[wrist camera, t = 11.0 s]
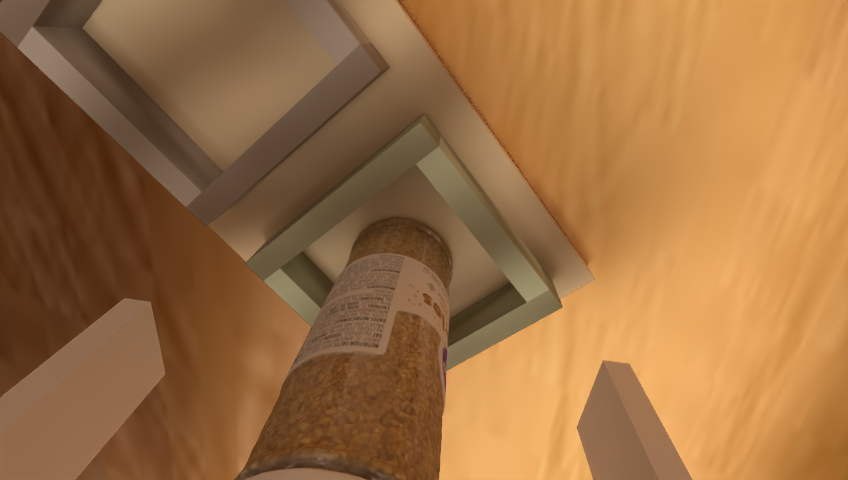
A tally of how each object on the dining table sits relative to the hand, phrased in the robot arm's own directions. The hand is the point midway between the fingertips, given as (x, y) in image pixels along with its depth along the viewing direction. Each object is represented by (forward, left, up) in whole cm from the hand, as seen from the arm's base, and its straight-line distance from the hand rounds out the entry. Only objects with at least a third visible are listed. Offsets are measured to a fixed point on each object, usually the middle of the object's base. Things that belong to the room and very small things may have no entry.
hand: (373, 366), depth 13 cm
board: (-5, 0, -8) cm, 9 cm away
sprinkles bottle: (0, 0, -7) cm, 7 cm away
